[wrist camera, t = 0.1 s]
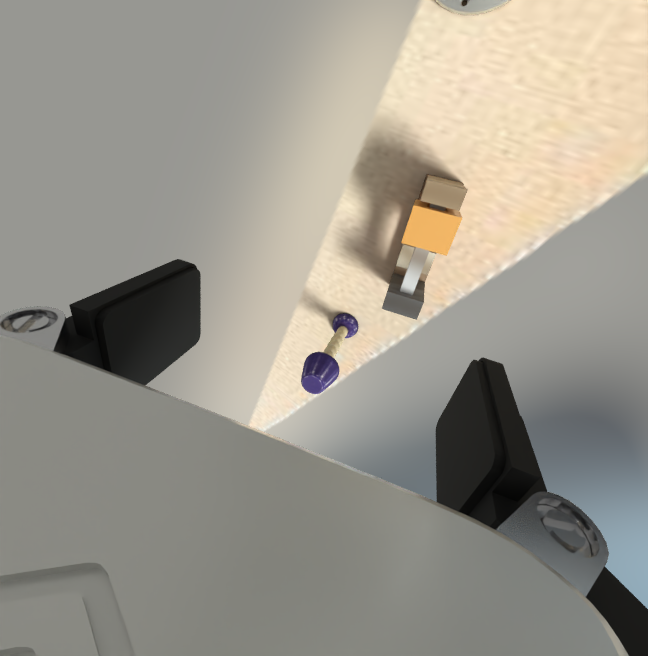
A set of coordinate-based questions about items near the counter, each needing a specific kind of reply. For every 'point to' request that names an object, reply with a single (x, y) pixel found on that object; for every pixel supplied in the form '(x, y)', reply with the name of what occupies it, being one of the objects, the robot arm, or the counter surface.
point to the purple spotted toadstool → (327, 357)
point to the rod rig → (420, 251)
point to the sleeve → (431, 228)
